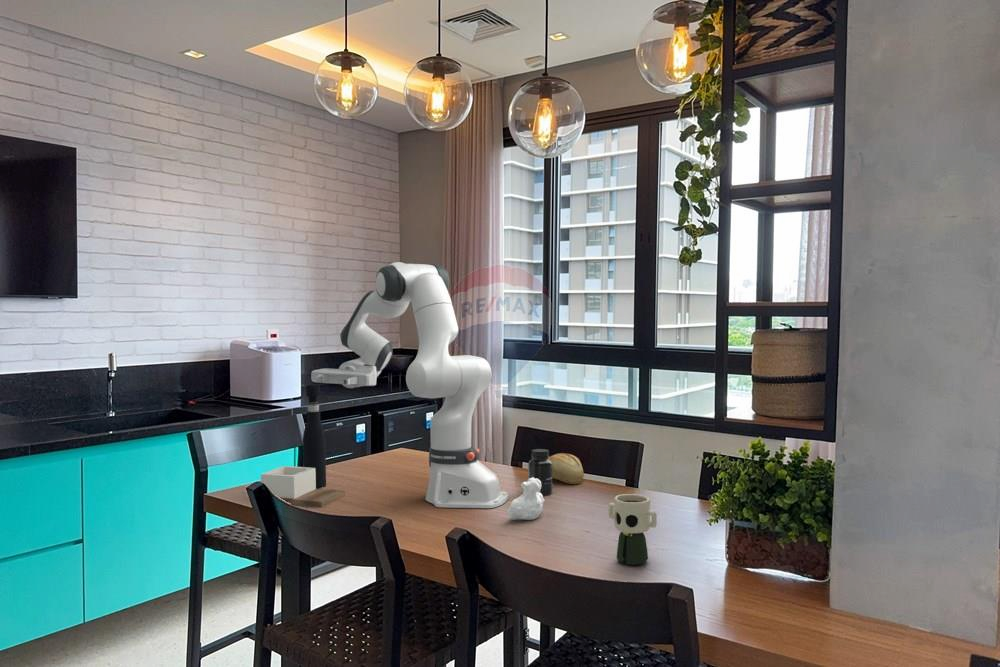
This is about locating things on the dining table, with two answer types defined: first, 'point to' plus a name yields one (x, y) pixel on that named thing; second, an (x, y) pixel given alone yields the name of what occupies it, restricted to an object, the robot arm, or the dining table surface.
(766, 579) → the dining table surface
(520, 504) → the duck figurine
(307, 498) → the bottle stand
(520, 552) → the dining table surface
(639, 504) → the character mug
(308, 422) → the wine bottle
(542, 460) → the supplement bottle
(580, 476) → the bread roll
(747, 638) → the dining table surface
